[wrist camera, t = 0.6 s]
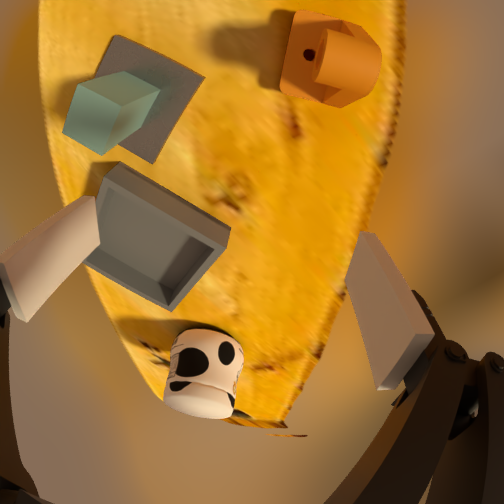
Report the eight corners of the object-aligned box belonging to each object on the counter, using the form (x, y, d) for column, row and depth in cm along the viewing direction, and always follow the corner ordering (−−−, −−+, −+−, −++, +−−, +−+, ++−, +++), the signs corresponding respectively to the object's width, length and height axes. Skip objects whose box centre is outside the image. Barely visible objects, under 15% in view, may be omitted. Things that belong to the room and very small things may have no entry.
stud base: (119, 34, 24) (93, 35, 19) (205, 77, 28) (191, 82, 24) (81, 119, 32) (57, 133, 27) (155, 161, 36) (137, 180, 32)
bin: (120, 161, 36) (103, 176, 33) (231, 227, 43) (226, 248, 39) (92, 243, 48) (80, 261, 44) (178, 292, 54) (171, 312, 50)
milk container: (248, 359, 70) (242, 422, 57) (186, 355, 72) (173, 414, 59) (240, 322, 59) (230, 400, 45) (166, 319, 61) (145, 388, 48)
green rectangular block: (124, 70, 27) (78, 83, 19) (160, 89, 29) (121, 106, 21) (106, 109, 30) (62, 132, 23) (140, 127, 32) (101, 155, 24)
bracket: (294, 11, 22) (303, -11, 13) (354, 28, 22) (392, 18, 13) (277, 90, 29) (278, 107, 20) (335, 104, 29) (362, 129, 20)
